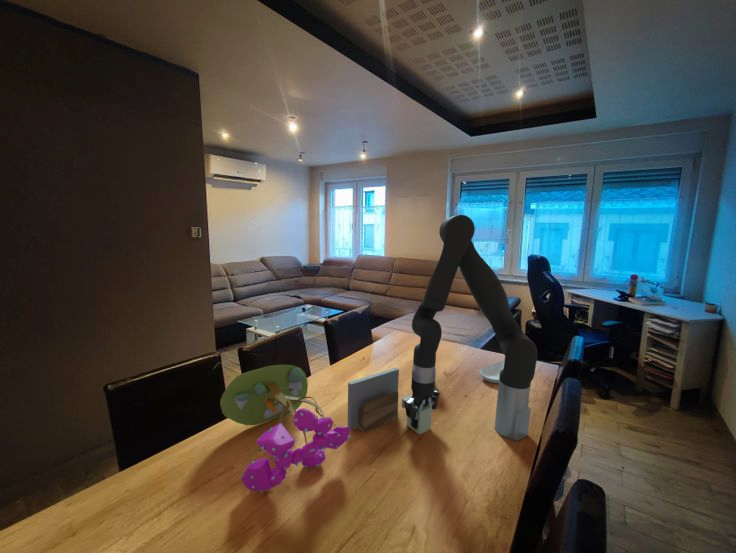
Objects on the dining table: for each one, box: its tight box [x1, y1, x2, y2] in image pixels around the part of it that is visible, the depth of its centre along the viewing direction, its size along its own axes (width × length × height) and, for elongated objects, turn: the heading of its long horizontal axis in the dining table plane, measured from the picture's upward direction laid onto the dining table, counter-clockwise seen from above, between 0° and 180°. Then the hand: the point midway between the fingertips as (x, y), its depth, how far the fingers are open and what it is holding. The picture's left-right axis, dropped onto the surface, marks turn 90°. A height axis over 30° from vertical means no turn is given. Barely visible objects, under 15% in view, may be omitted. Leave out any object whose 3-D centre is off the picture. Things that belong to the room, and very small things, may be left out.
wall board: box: [347, 367, 400, 431], centre depth 109 cm, size 2×20×16 cm, turn 125°
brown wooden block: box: [357, 391, 399, 434], centre depth 107 cm, size 4×14×10 cm, turn 125°
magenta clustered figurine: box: [219, 364, 352, 493], centre depth 91 cm, size 30×28×35 cm
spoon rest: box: [478, 358, 505, 384], centre depth 143 cm, size 24×12×7 cm, turn 125°
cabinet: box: [401, 394, 433, 435], centre depth 107 cm, size 9×5×8 cm, turn 35°
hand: (420, 424), depth 105 cm, fingers closed on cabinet, 5 cm apart
